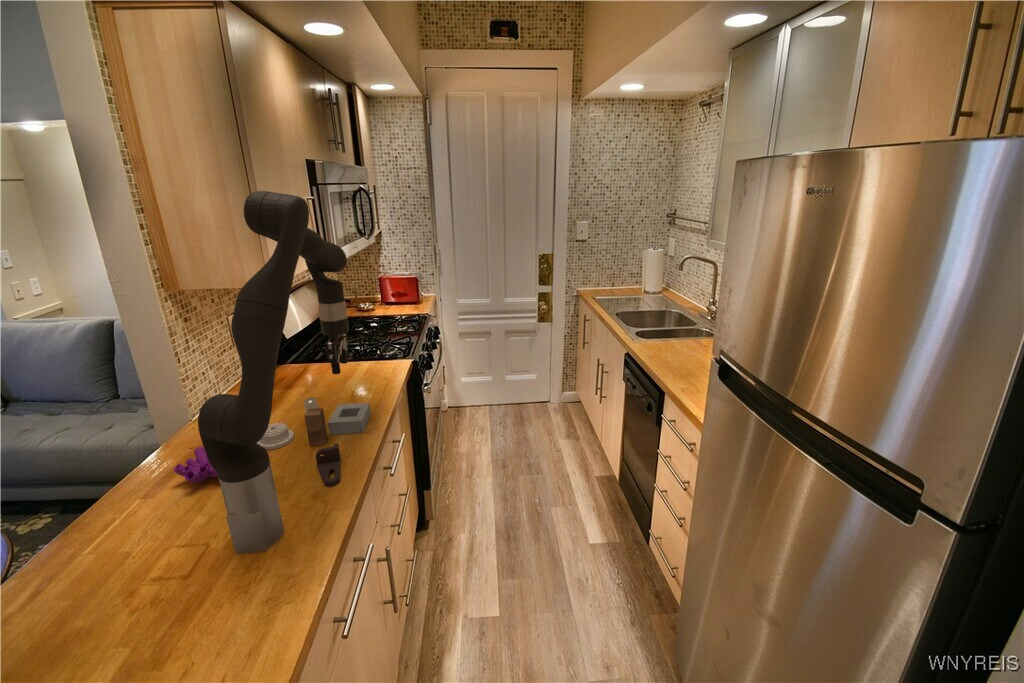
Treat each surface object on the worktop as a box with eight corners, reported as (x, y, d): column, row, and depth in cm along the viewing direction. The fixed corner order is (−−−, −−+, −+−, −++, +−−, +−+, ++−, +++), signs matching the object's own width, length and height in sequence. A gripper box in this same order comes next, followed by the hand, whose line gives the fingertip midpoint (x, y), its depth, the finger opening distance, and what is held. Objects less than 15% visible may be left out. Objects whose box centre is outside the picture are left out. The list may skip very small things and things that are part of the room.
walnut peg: (323, 445, 130) (318, 414, 127) (309, 446, 130) (304, 415, 127) (327, 437, 134) (323, 408, 131) (313, 438, 134) (308, 408, 130)
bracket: (315, 490, 111) (312, 473, 110) (318, 462, 122) (315, 447, 121) (339, 485, 113) (337, 469, 111) (340, 458, 124) (338, 443, 123)
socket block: (363, 432, 137) (361, 421, 136) (329, 434, 136) (327, 422, 135) (370, 413, 148) (369, 403, 147) (339, 415, 147) (338, 404, 146)
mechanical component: (248, 448, 129) (278, 452, 127) (245, 435, 128) (276, 439, 126) (272, 431, 138) (301, 434, 136) (270, 418, 137) (298, 421, 135)
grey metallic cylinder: (318, 425, 141) (314, 402, 139) (306, 425, 141) (302, 402, 138) (321, 419, 145) (317, 397, 142) (309, 420, 144) (306, 397, 142)
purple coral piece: (236, 469, 125) (251, 446, 122) (199, 505, 111) (216, 480, 108) (199, 448, 123) (213, 423, 120) (156, 482, 109) (172, 455, 106)
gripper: (340, 323, 123) (347, 377, 128) (352, 310, 136) (358, 359, 142) (312, 323, 122) (320, 378, 127) (327, 310, 136) (334, 360, 141)
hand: (340, 368), depth 135 cm, fingers open, 8 cm apart
